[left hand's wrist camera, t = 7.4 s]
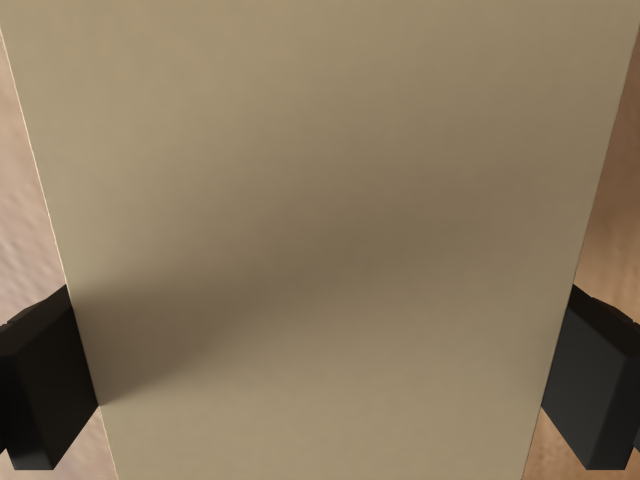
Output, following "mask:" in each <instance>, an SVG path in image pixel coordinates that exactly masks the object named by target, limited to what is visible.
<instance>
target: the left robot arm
mask: <svg viewBox="0 0 640 480" xmlns="http://www.w3.org/2000/svg"><path fill="white" fill-rule="evenodd" d="M97 407H98V403H97V399H96V395H95V392H94V388H93V384H92V380H91V376H90V373H89V369H88V365H87V361H86V357H85V353H84V350H83V346H82V342H81V338H80V334H79V330H78V327H77V323H76V319H75V315H74V311H73V307H72V304H71V300H70V296H69V292H68V288H67V284H65V285H64V286H63V287H61V288H60V289H59V290H57V291H56V292H55V293H53V294H52V295H51V296H49V297H48V298H47V299H45V300H43V301H41V302H38V303H36V304H34V305H32V306H30V307H28V308H26V309H24V310H22V311H21V312H20V313H18V314H17V315H15V316H14V317H13V318H11V319H10V320H9V321H7V324H3V325H2V326H0V454H1V453H2V452H3V451H4V450H5V448H6V449H7V452H8V454H9V457H10V459H11V462H12V464H13V467H14V469H15V470H54V468H55V467H56V465H57V464H58V462H59V461H60V460H61V458H62V457H63V455H64V454H65V453H66V451H67V450H68V448H69V447H70V446H71V444H72V443H73V441H74V440H75V439H76V437H77V436H78V434H79V433H80V431H81V430H82V429H83V427H84V426H85V424H86V423H87V422H88V420H89V419H90V417H91V416H92V415H93V413H94V412H95V410H96V409H97ZM541 407H542V408H543V410H544V411H545V412H546V414H547V415H548V417H549V418H550V419H551V421H552V422H553V424H554V425H555V426H556V428H557V429H558V431H559V432H560V433H561V435H562V436H563V438H564V439H565V441H566V442H567V443H568V445H569V446H570V448H571V449H572V450H573V452H574V453H575V455H576V456H577V457H578V459H579V460H580V462H581V463H582V465H583V466H584V467H585V469H586V470H625V468H626V465H627V463H628V460H629V458H630V455H631V453H632V450H633V448H634V447H635V448H636V449H637V450H638V451H639V452H640V325H639V324H638V323H636V322H633V320H632V319H631V318H629V317H628V316H627V315H625V314H624V313H622V312H621V311H620V310H618V309H617V308H615V307H613V306H611V305H609V304H607V303H605V302H602V301H600V300H598V299H596V298H594V297H590V296H589V295H588V294H586V293H585V292H584V291H582V290H581V289H580V288H578V287H577V286H576V285H574V284H573V285H572V289H571V293H570V297H569V301H568V305H567V308H566V312H565V316H564V320H563V324H562V328H561V331H560V335H559V339H558V343H557V347H556V351H555V354H554V358H553V362H552V366H551V370H550V374H549V377H548V381H547V385H546V389H545V393H544V397H543V401H542V404H541Z"/></svg>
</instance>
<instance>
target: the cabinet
mask: <svg viewBox="0 0 640 480" xmlns="http://www.w3.org/2000/svg"><path fill="white" fill-rule="evenodd" d="M639 28H640V0H0V32H1V36H2V40H3V43H4V47H5V51H6V55H7V59H8V63H9V66H10V70H11V74H12V78H13V82H14V85H15V89H16V93H17V97H18V101H19V105H20V108H21V112H22V116H23V120H24V124H25V128H26V131H27V135H28V139H29V143H30V147H31V151H32V154H33V158H34V162H35V166H36V170H37V174H38V177H39V181H40V185H41V189H42V193H43V196H44V200H45V204H46V208H47V212H48V216H49V219H50V223H51V227H52V231H53V235H54V239H55V242H56V246H57V250H58V254H59V258H60V262H61V265H62V269H63V273H64V277H65V281H66V284H67V288H68V292H69V296H70V300H71V304H72V307H73V311H74V315H75V319H76V323H77V327H78V330H79V334H80V338H81V342H82V346H83V350H84V353H85V357H86V361H87V365H88V369H89V373H90V376H91V380H92V384H93V388H94V392H95V395H96V399H97V403H98V407H99V411H100V415H101V418H102V422H103V426H104V430H105V434H106V438H107V441H108V445H109V449H110V453H111V457H112V461H113V464H114V468H115V472H116V476H117V480H522V477H523V473H524V470H525V466H526V462H527V458H528V454H529V450H530V447H531V443H532V439H533V435H534V431H535V427H536V424H537V420H538V416H539V412H540V408H541V404H542V401H543V397H544V393H545V389H546V385H547V381H548V377H549V374H550V370H551V366H552V362H553V358H554V354H555V351H556V347H557V343H558V339H559V335H560V331H561V328H562V324H563V320H564V316H565V312H566V308H567V305H568V301H569V297H570V293H571V289H572V285H573V282H574V278H575V274H576V270H577V266H578V262H579V259H580V255H581V251H582V247H583V243H584V239H585V236H586V232H587V228H588V224H589V220H590V216H591V213H592V209H593V205H594V201H595V197H596V193H597V189H598V186H599V182H600V178H601V174H602V170H603V166H604V163H605V159H606V155H607V151H608V147H609V143H610V140H611V136H612V132H613V128H614V124H615V120H616V117H617V113H618V109H619V105H620V101H621V97H622V94H623V90H624V86H625V82H626V78H627V74H628V71H629V67H630V63H631V59H632V55H633V51H634V48H635V44H636V40H637V36H638V32H639Z"/></svg>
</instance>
